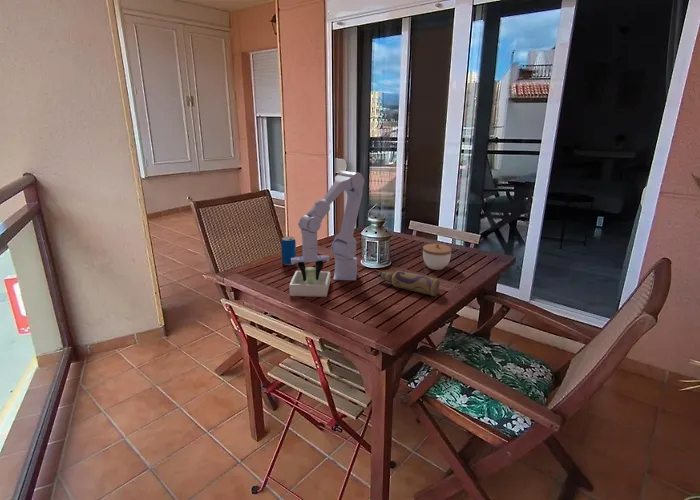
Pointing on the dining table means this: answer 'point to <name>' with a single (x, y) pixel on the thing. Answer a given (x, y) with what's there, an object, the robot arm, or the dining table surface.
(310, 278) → the green cylinder
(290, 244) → the beverage can
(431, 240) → the dining table surface
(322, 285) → the bin
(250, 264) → the dining table surface
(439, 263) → the lidded bowl
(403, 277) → the decorative bottle
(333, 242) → the robot arm
